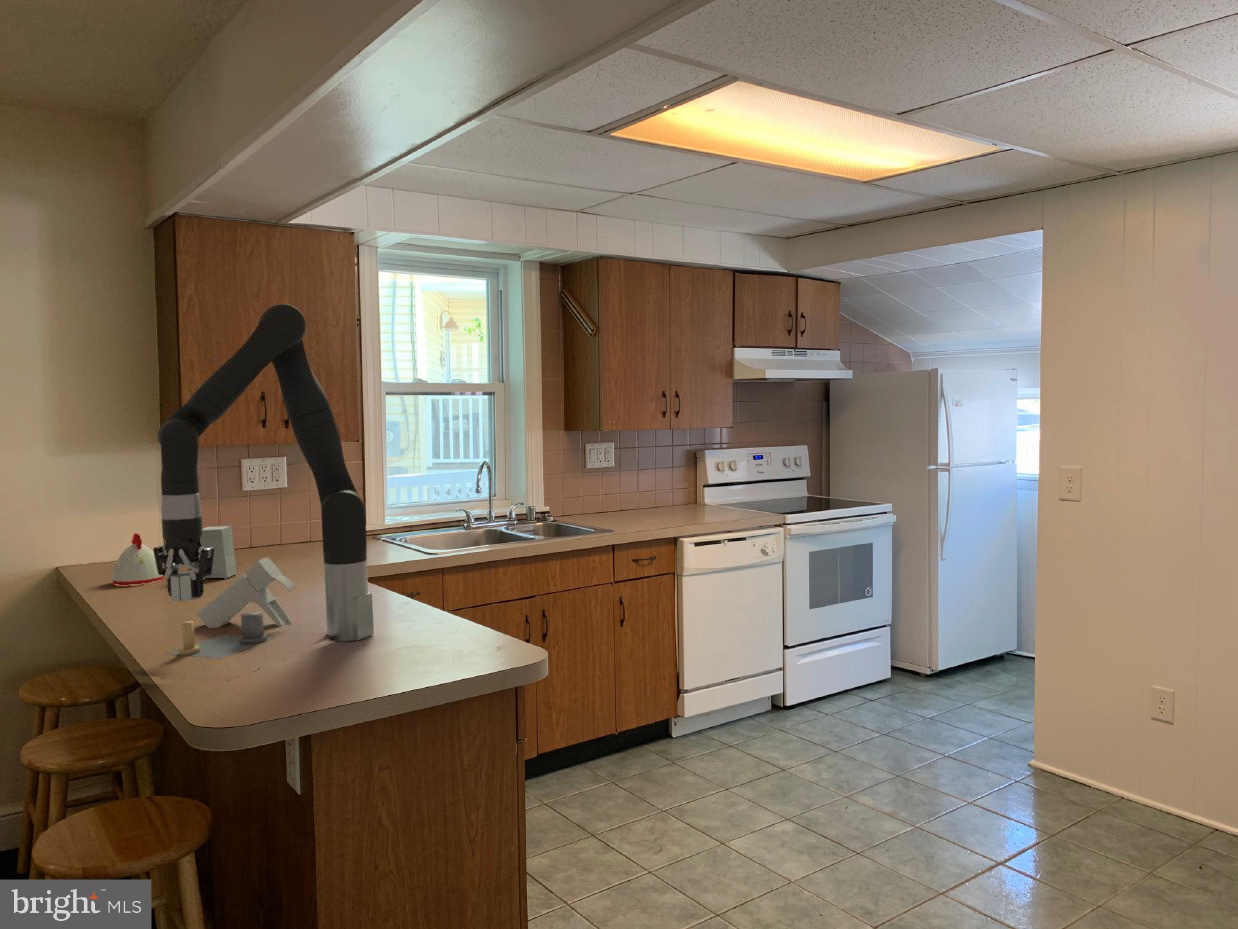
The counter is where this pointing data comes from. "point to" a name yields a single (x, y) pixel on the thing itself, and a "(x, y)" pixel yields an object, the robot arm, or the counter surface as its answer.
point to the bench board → (224, 639)
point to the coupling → (181, 587)
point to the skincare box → (220, 550)
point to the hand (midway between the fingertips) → (185, 595)
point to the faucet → (248, 596)
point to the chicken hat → (136, 565)
